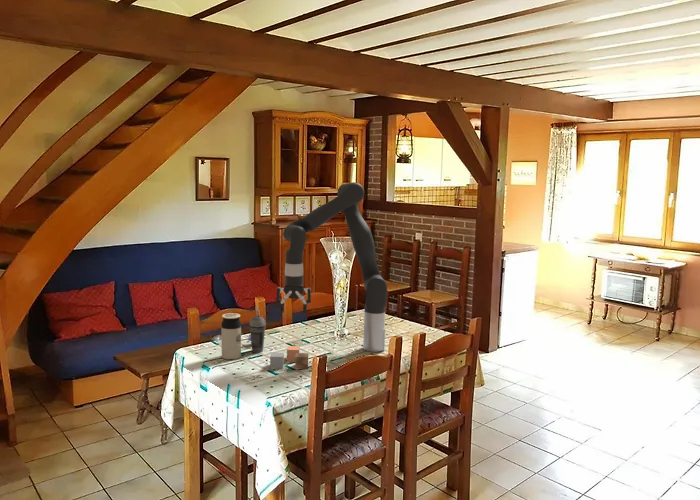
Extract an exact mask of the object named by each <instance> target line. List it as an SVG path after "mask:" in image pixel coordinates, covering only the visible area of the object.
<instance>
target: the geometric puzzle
mask: <svg viewBox="0 0 700 500" xmlns="http://www.w3.org/2000/svg"><path fill="white" fill-rule="evenodd" d="M246 341H247V342H249V343H250V342H251V332H249V334H248V337H247V340H246Z"/></svg>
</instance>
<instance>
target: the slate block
mask: <svg viewBox="0 0 700 500" xmlns="http://www.w3.org/2000/svg"><path fill="white" fill-rule="evenodd" d="M284 354H285V353H284V352H271V353H270V357H269V359H270V360H269V368H270V369H271V370H272V369H273V370H274V369H275V370H283V369H284V364H285V363H284V362H285V361H284V360H285V357H284V356H285V355H284Z"/></svg>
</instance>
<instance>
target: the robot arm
mask: <svg viewBox="0 0 700 500" xmlns="http://www.w3.org/2000/svg"><path fill="white" fill-rule="evenodd" d="M336 193H337V196H336V197H334V198H333V199H331V200H329V201H327V202H326V203H324V204H322V205H319V206H318V207H316V208H314V209H313V210H311V211H310V212H309V213H308V214H305V216H304V217H301V218H299V219H297V220H295V221H293V222H291V223H290V224H288V225H287V226H286V227H284V229H283V232H282V233H283V234H282V235H283V238H284V240H285V241H287V242H289V244H290V245H289V248H287V249H286V252H285V266H284V287H280V286H278V287H277V288H276V298H275V299H276V300H275V301H276V303H279V304H280V311H281V313H283V314H284V313H285V302H286V300H287V299H290V300H291V299H297V300H298V299H299V300H300V301H301V302H302V313H303V314H305V313H306V312H307V307H308V306H307V304H311V302H312V293H311V292H312V289H311V287H307V288H305V287H304V262H303V261H304V257H303V256H304V250H305V246H306V243H307V242H306V241H307V233H309V232H314V231H315V230H317V229H319V228H320V227H321V226H322V225H324V224H325V223H326V222H328V221H329V220H331V219H332V218H334V217H336V215H338V214H339V213H341V212H343V215H344V217H345V222H346V225H347V229H348V232H349V235H350V240H351V243H352V246H353V249H354V253H355V256H356V259H357V261H358V263H359V266H360V269H361V274H362V280H363V286H364V287H363V288H364V290H365V292H366V293H365V304H364V309H363V311H364V312H363V313H364V314H363V340H362V341H363V345H362V349H364V351H367V352H373V353H374V352H375V353H376V352H382V351H383V352H384V351H385V342H386V339H385V338H386V328H385V323H386V321H385V320H386V307H387V304H388V303H387V301H388V284H387V282H386V281H385V279H384V278H383V277H382V275H381V272H380V269H379V266H378V263H377V259H376V258H377V256H376V255H377V254H376V245H375V241H374V237H373V234H372V231H371V228H370V227H369V225H368V223H367V222H366V221H365V219H364V218H363V216H362V214H361V212H360V209H359V206H358V203H360V202H362V200H363V199H364V196H365V189H364V187H363V185H362V184H360V183H358V182H348V183H346V182H345V183H342V184H341V185H339V187H338V189H337V192H336ZM282 292H284V293H285V294H284V296H283V297H282V299H281V294H282ZM304 292H305V294H307V299H306V298H305V296H304V295H303V293H304Z"/></svg>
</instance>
